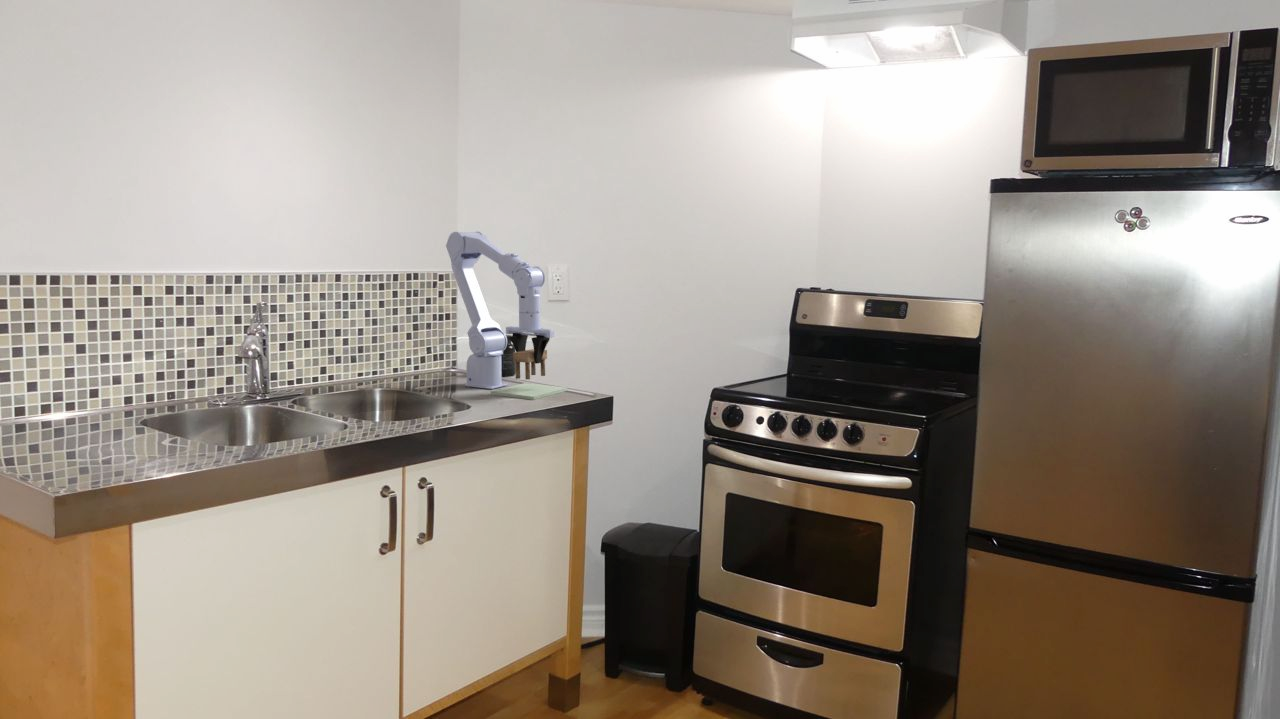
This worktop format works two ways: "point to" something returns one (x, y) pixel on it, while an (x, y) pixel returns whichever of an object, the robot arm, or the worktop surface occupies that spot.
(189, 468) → the worktop surface
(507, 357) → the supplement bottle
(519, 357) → the walnut stool
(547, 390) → the sage board
